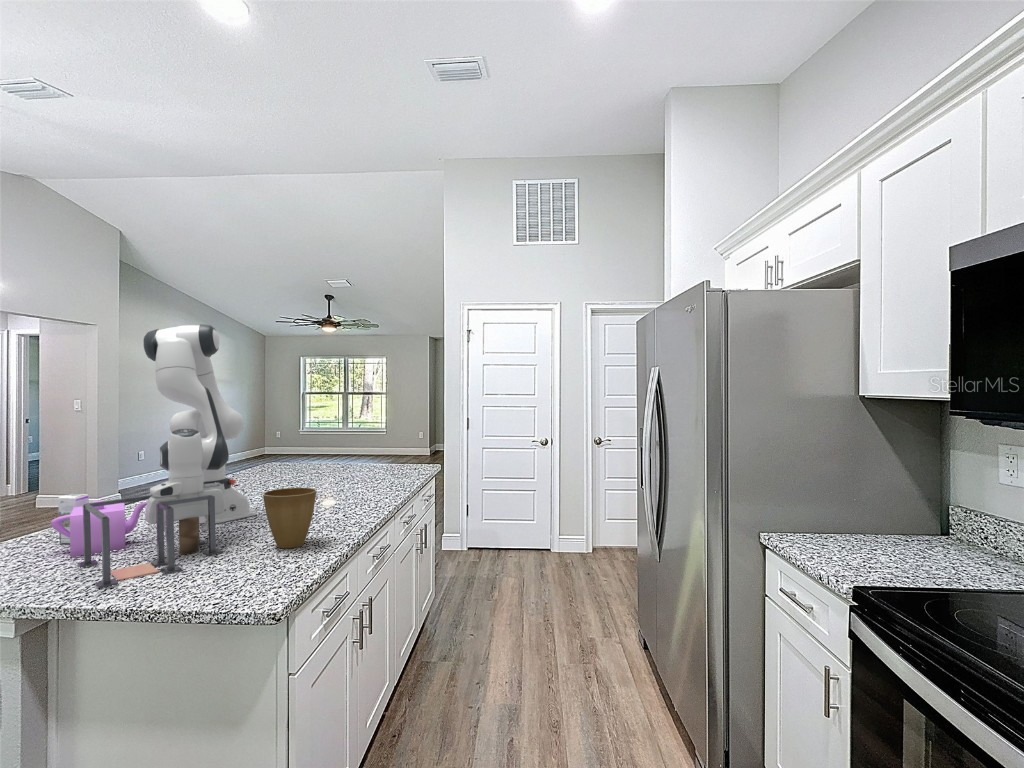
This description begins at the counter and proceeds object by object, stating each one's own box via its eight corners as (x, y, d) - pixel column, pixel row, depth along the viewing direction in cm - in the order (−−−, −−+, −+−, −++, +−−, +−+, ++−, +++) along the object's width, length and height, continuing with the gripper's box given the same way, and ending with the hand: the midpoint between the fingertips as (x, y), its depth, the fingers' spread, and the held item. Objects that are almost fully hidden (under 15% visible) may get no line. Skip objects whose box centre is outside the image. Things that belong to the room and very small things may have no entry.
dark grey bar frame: (201, 541, 183) (200, 487, 183) (234, 559, 164) (232, 499, 163) (77, 565, 161) (75, 504, 161) (98, 589, 142) (96, 519, 142)
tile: (148, 564, 161) (148, 562, 161) (159, 572, 153) (159, 570, 153) (108, 572, 154) (108, 570, 154) (117, 581, 147) (117, 579, 147)
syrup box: (91, 539, 188) (90, 493, 188) (75, 544, 182) (74, 497, 182) (74, 539, 188) (73, 493, 188) (58, 544, 182) (57, 497, 182)
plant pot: (314, 550, 171) (313, 494, 171) (259, 554, 168) (258, 497, 168) (320, 536, 186) (319, 485, 186) (269, 540, 183) (268, 488, 183)
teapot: (153, 546, 179) (152, 499, 179) (48, 561, 165) (47, 510, 165) (152, 535, 192) (151, 491, 192) (54, 548, 178) (53, 501, 178)
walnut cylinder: (195, 548, 176) (195, 514, 176) (201, 551, 172) (200, 516, 172) (177, 551, 172) (176, 517, 172) (182, 555, 169) (181, 519, 169)
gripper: (220, 480, 181) (221, 525, 181) (143, 489, 167) (144, 538, 167) (228, 482, 177) (228, 529, 177) (149, 492, 162) (150, 542, 162)
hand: (187, 534), depth 172 cm, fingers open, 8 cm apart
